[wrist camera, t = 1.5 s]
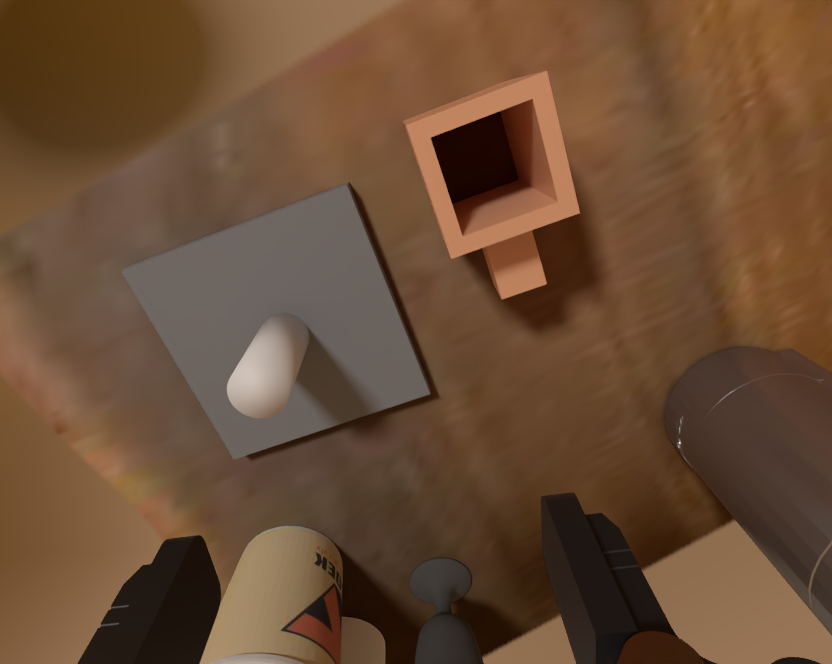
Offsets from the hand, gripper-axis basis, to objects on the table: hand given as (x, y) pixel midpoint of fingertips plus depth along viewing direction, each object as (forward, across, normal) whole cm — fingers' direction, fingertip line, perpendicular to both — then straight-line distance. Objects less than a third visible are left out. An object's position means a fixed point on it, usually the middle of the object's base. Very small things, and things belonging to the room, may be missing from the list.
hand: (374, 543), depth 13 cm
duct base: (+22, +7, +2) cm, 23 cm away
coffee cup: (+22, +11, +22) cm, 33 cm away
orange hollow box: (+22, -6, -5) cm, 23 cm away
